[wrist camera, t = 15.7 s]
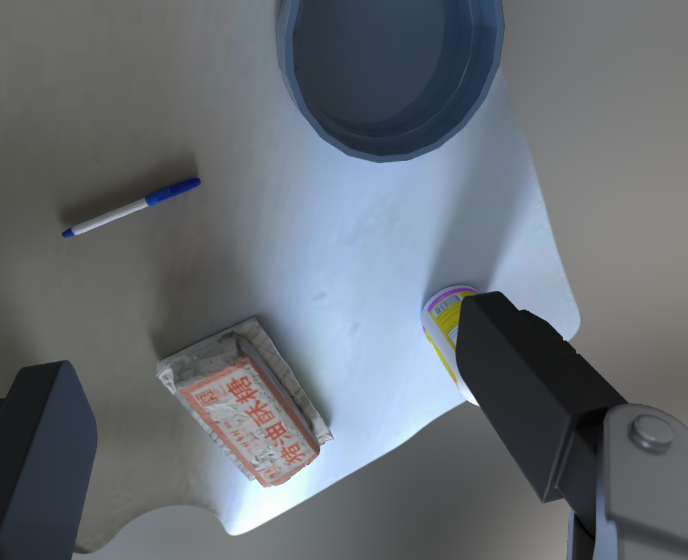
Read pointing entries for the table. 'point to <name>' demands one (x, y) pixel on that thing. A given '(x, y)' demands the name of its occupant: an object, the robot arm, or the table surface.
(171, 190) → the ballpoint pen
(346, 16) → the bowl
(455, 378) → the supplement bottle
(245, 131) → the table surface
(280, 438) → the packaged product
